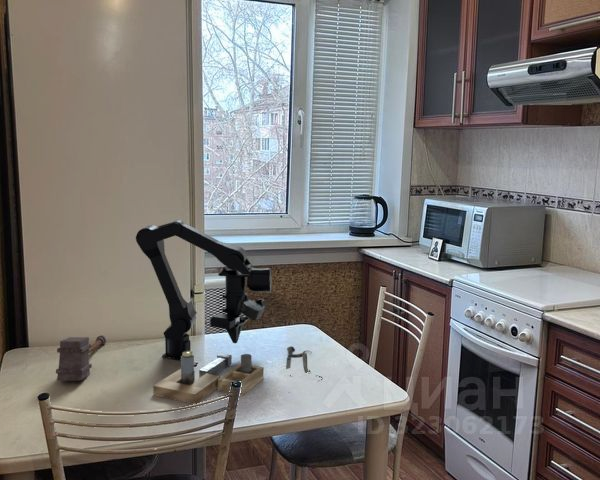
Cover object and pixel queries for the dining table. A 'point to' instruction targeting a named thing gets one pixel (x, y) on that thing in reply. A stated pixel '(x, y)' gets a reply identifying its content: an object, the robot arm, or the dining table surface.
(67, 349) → the hammer
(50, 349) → the dining table surface
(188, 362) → the grey metal cylinder
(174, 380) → the socket block
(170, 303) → the robot arm
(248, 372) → the rack
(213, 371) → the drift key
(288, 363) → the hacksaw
